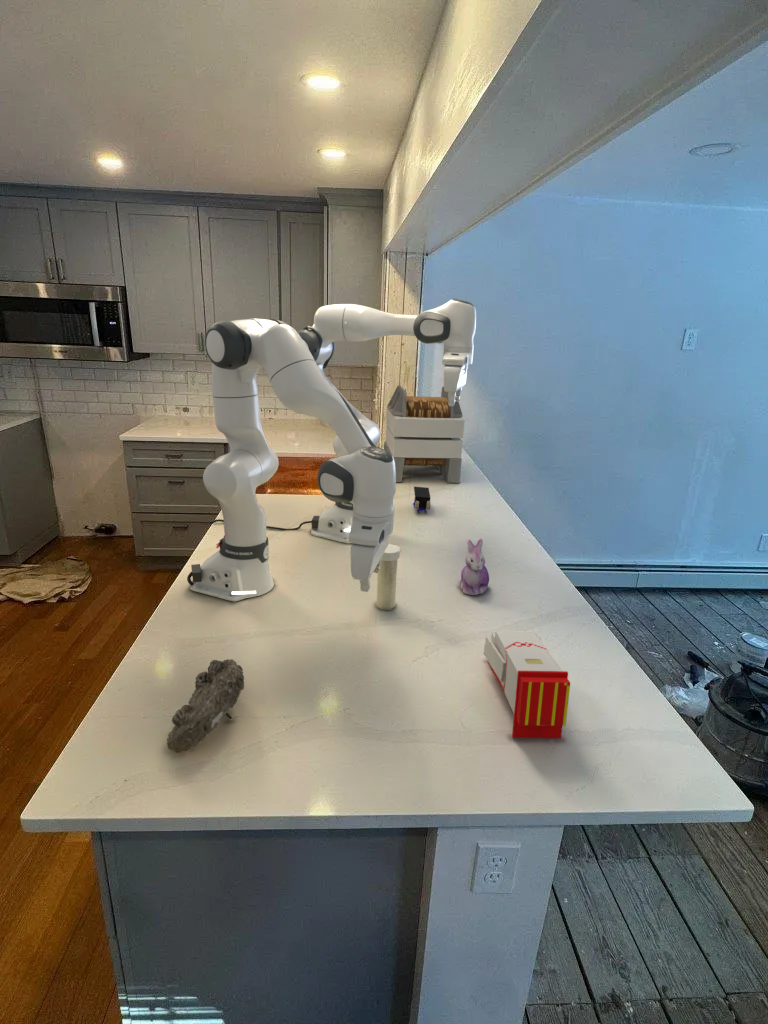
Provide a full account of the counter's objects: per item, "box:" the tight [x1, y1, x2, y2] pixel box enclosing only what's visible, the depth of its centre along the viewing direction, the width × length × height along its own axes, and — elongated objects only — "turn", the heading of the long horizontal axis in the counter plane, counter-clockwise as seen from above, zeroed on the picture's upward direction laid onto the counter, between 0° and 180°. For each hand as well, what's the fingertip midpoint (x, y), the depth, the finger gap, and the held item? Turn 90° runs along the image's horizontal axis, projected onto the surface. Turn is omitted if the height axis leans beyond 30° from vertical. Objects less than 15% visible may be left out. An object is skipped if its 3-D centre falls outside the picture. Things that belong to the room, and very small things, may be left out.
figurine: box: [459, 538, 490, 596], centre depth 160 cm, size 9×10×15 cm
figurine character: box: [412, 486, 431, 515], centre depth 224 cm, size 7×8×15 cm
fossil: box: [166, 658, 245, 754], centre depth 106 cm, size 22×10×15 cm
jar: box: [375, 559, 399, 611], centre depth 149 cm, size 5×5×16 cm
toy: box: [483, 629, 571, 739], centre depth 117 cm, size 12×13×30 cm
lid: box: [381, 543, 401, 561], centre depth 146 cm, size 6×6×2 cm
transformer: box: [383, 384, 465, 484], centre depth 268 cm, size 34×33×41 cm
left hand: (370, 580), depth 127 cm, fingers open, 8 cm apart
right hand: (454, 403), depth 174 cm, fingers open, 8 cm apart
